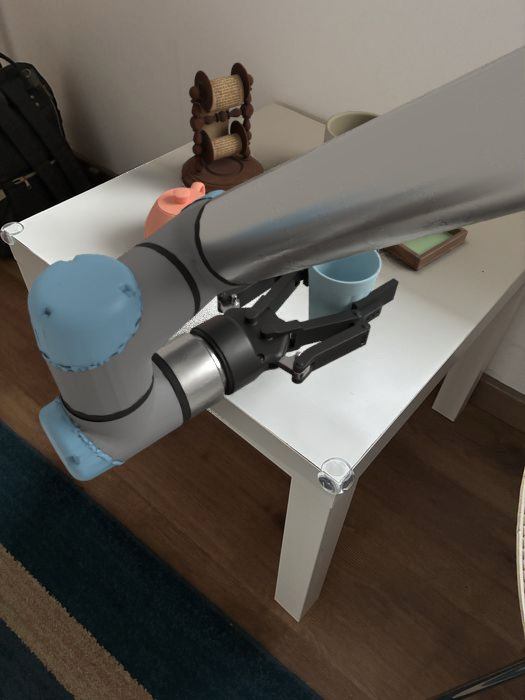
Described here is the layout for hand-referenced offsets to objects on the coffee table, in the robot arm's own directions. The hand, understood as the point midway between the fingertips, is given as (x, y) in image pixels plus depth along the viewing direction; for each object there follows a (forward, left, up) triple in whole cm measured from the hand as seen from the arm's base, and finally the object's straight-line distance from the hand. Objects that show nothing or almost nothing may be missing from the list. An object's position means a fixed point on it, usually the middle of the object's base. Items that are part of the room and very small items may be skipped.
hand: (368, 271), depth 62 cm
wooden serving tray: (+11, -26, -14) cm, 31 cm away
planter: (+28, -29, -14) cm, 43 cm away
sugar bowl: (+31, +5, -14) cm, 34 cm away
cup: (0, +5, -6) cm, 8 cm away
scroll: (+42, -10, -14) cm, 45 cm away
